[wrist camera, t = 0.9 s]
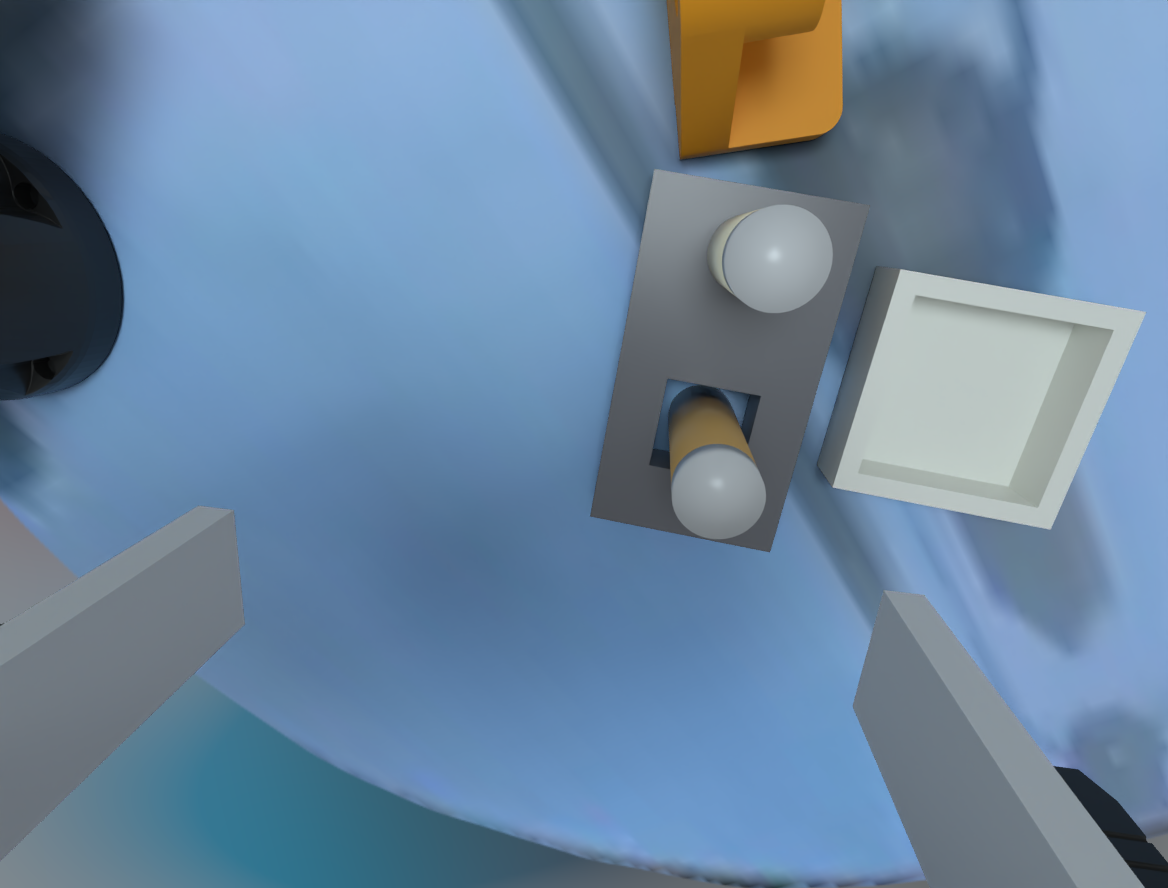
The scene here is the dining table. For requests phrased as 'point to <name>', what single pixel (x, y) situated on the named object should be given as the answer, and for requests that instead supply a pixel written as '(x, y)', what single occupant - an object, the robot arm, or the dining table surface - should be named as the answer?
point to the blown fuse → (712, 466)
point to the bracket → (754, 72)
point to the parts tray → (972, 395)
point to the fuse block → (725, 332)
